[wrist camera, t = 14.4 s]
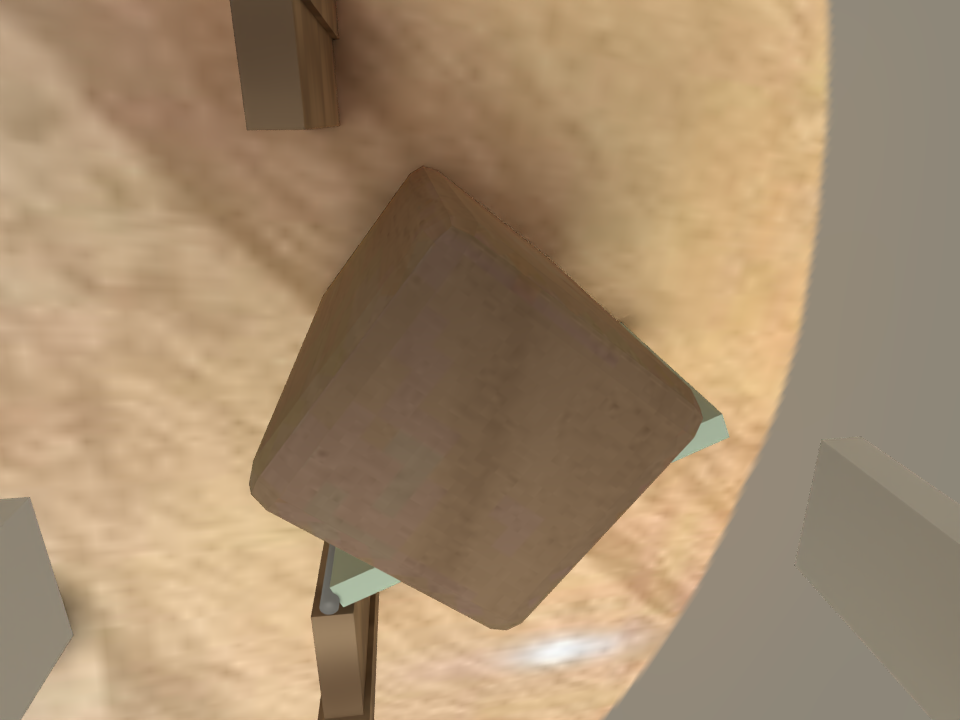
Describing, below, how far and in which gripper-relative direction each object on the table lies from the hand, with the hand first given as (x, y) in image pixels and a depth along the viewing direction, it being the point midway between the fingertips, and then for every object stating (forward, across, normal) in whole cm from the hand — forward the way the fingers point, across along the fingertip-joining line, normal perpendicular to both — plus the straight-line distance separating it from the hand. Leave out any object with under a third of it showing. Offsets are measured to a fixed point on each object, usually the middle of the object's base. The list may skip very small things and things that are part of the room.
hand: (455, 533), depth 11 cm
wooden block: (+26, +1, -2) cm, 26 cm away
